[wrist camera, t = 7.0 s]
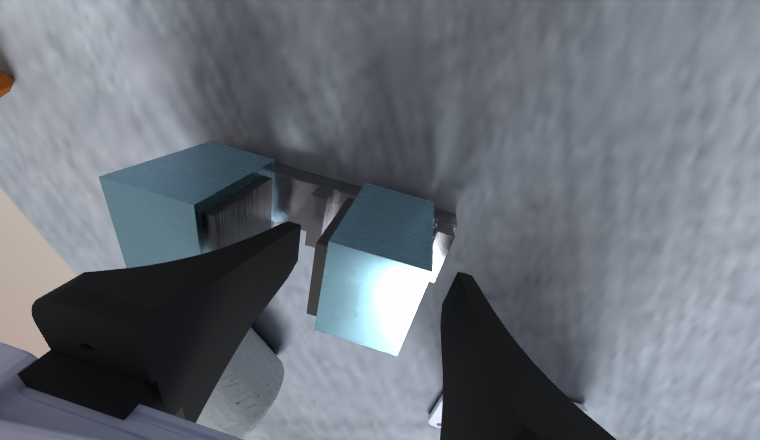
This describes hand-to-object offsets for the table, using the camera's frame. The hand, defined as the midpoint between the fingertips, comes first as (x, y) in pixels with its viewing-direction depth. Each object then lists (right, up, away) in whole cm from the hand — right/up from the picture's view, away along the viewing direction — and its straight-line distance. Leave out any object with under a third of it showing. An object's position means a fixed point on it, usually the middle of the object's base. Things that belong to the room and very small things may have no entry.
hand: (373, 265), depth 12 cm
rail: (-2, +3, +4) cm, 5 cm away
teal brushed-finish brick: (+1, +2, +3) cm, 3 cm away
